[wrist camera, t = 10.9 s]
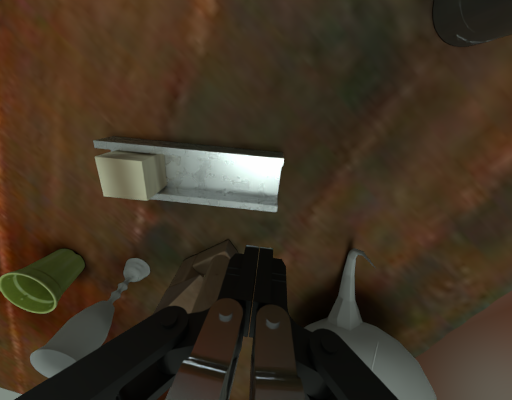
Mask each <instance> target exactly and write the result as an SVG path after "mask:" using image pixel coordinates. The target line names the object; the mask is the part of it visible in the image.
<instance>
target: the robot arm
mask: <svg viewBox="0 0 512 400" xmlns="http://www.w3.org/2000/svg"><path fill="white" fill-rule="evenodd" d="M433 21H434V25H435V29H436V31H437V32H438V34H439V36H440V37H441V38H442V39H443V40H444V41H445V42H447V43H449V44H451V45H454V46H458V47H464V46H471V45H475V44H479V43H484V42H488V41H491V40H494V39H497V38H500V37H504V36H508V35H511V34H512V0H434V6H433ZM258 252H259V247H257V246H250V245H246V248H245V253H244V254H238V253H235V254H234V255H233V256H232V257H231V258H230V260H229V263H228V267H227V270H226V274H225V276H224V279H223V283H222V286H221V289H220V292H219V296H218V298H217V301H216V302H215V303H214V304H213V305H212V306H211V307H210V308H208V309H206V310H204V311H201V312H195V313H189V314H188V313H187V311H186V310H185V309H184V308H182V307H180V306H168V307H165V308H163V309H161V310H160V311H158V312H156V313H155V314H153V315H152V316H150V317H148V318H147V319H145V320H143V321H142V322H140V323H138V324H137V325H135V326H134V327H132V328H130V329H129V330H127V331H125V332H124V333H122V334H121V335H119V336H117V337H116V338H114V339H112V340H111V341H109V342H107V343H106V344H104V345H103V346H101V347H99V348H98V349H96V350H94V351H93V352H91V353H90V354H88V355H86V356H85V357H83V358H81V359H80V360H78V361H77V362H75V363H73V364H72V365H70V366H68V367H67V368H65V369H63V370H62V371H60V372H59V373H57V374H55V375H54V376H52V377H50V378H49V379H47V380H46V381H44V382H42V383H41V384H39V385H37V386H36V387H34V388H32V389H31V390H29V391H28V392H26V393H24V394H23V395H21V396H20V397H18V398H16V399H15V400H156V399H158V398H159V397H160V396H161V395H162V394H163V393H164V392H165V391H167V390H168V389H169V388H170V387H171V388H170V390H169V392H168V395H167V397H166V399H165V400H229V397H230V393H231V388H232V384H233V380H234V375H235V371H236V367H237V362H238V358H239V353H240V351H241V347H242V340H243V336H245V337H248V330H249V323H250V315H251V308H252V316H251V324H250V333H249V337H253V345H252V354H251V370H250V395H249V400H399V399H398V398H397V397H396V396H395V395H394V394H393V393H392V392H391V391H390V390H389V389H388V388H387V386H386V385H385V384H384V383H383V382H382V381H381V380H380V379H379V378H378V377H377V376H376V375H375V374H374V373H373V372H372V370H371V369H370V368H369V367H368V366H367V365H366V364H365V363H364V362H363V361H362V360H361V359H360V358H359V357H358V355H357V354H356V353H355V352H354V351H353V350H352V349H351V348H350V347H349V346H348V345H347V344H346V343H345V342H344V341H343V339H342V338H341V337H340V336H339V335H337V334H336V333H335V332H333V331H331V330H329V329H324V328H320V329H317V330H315V331H314V332H311V331H309V330H307V329H305V328H303V327H301V326H299V325H298V324H296V323H295V322H294V321H293V320H292V318H291V317H290V315H289V313H288V309H287V286H286V266H285V264H284V262H283V261H282V259H276V258H273V248H265V247H260V253H259V260H258ZM257 261H258V268H257ZM256 270H257V276H256ZM255 278H256V283H255ZM254 285H255V291H254ZM253 293H254V299H253ZM252 300H253V307H252Z"/></svg>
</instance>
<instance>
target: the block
mask: <svg viewBox="0 0 512 400" xmlns="http://www.w3.org/2000/svg"><path fill="white" fill-rule="evenodd" d="M95 160H96V164H97V169H98V173H99V177H100V182H101V186H102V190H103V195H104V196H107V197H117V198H126V199H136V200H146V201H147V200H149V199H150V198H151V197H153V196H154V195H155V194H156V193H158V192H159V191H160V190H162V189H163V188H164V187H165V186H167V180H166V169H165V159H164V155H163V154H153V153H143V152H133V151H122V150H115V151H112V152H108V153H105V154H102V155H99V156H95Z"/></svg>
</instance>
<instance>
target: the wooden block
mask: <svg viewBox="0 0 512 400" xmlns="http://www.w3.org/2000/svg"><path fill="white" fill-rule="evenodd" d="M235 253H238V252H237V250H236V249H235V248H234V246H233V245H232V243H231V242H230V241H229V240H227V241H225V242H222V243H220V244H218V245H216V246H214V247H212V248H210V249H207V250H205V251H203V252H201V253H199V254H196V255H194V256H192V257H190V258H188V259H186V260H184V261H183V263H182V264H181V266H180V268H179V270H178V272H177V273H176V275H175V277H174V279H173V280H172V282H171V284H170V286H169V288H168V289H167V290H166V292H165V294H164V296H163V297H162V299H161V301H160V303H159V304H158V306H157V308H156V310H155V312H154V313H153V314H155V313H156V312H158V311H160V310H161V309H163V308H165V307H168V306H180V307H182V308H184V309H185V310H186V311H187V313H188V314H189V313H195V312H201V311H204V310H206V309H208V308H210V307H211V306H212V305H213V304H214V303H215V302H216V301H217V298H218V296H219V292H220V289H221V286H222V283H223V279H224V276H225V274H226V270H227V267H228V263H229V260H230V258H231V257H232V256H233V255H234V254H235ZM204 274H205V275H206V276H205V278H203V277H204Z"/></svg>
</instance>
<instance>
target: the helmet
mask: <svg viewBox="0 0 512 400" xmlns="http://www.w3.org/2000/svg"><path fill="white" fill-rule="evenodd" d="M357 255H362V256H364V257H365V258H366V259H367V260H368V261H369V262H370V263H371V261H370V260H369V259H368V257H367V256H366V255H365V253H364V252H363V251H361V250H358V249H355V248H354V249H352V250H351V251H349V253H348V257H347V261H346V264H345V268H344V272H343V276H342V281H341V285H340V290H339V295H338V297H337V299H336V301H335V303H334V306H333V308H332V310H331V312H330V314H329V316H328V317H327V318H325V319H322V320H319V321H317V322H314V323H312V324H309V325H307V326H306V327H304V328H305V329H307V330H309V331H311V332H314V331H315V330H317V329H320V328H324V329H329V330H331V331H333V332H335V333H336V334H337V335H339V336H340V337H341V338H342V339H343V341H344V342H345V343H346V344H347V345H348V346H349V347H350V348H351V349H352V350H353V351H354V352H355V353H356V354H357V355H358V357H359V358H360V359H361V360H362V361H363V362H364V363H365V364H366V365H367V366H368V367H369V368H370V369H371V370H372V372H373V373H374V374H375V375H376V376H377V377H378V378H379V379H380V380H381V381H382V382H383V383H384V384H385V385H386V386H387V388H388V389H389V390H390V391H391V392H392V393H393V394H394V395H395V396H396V397H397V398H398V399H399V400H437V398H436V396H435V393H434V391H433V389H432V387H431V385H430V383H429V381H428V379H427V378H426V376H425V374H424V372H423V370H422V369H421V367H420V365H419V363H418V361H417V360H416V359H415V358H414V357H413V356H412V355H411V354H410V353H409V352H408V351H407V350H406V349H405V348H404V347H403V345H402V344H401V343H400V342H399V341H397V340H396V339H394V338H393V337H391V336H390V335H388V334H387V333H385V332H384V331H382V330H381V329H379V328H378V327H376V326H373V325H370V324H368V323H365V322H362V319H361V316H360V313H359V310H358V307H357V304H356V301H355V279H354V273H355V262H356V257H357ZM371 264H372V263H371ZM372 265H373V264H372ZM373 266H374V265H373ZM374 267H375V266H374Z"/></svg>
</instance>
